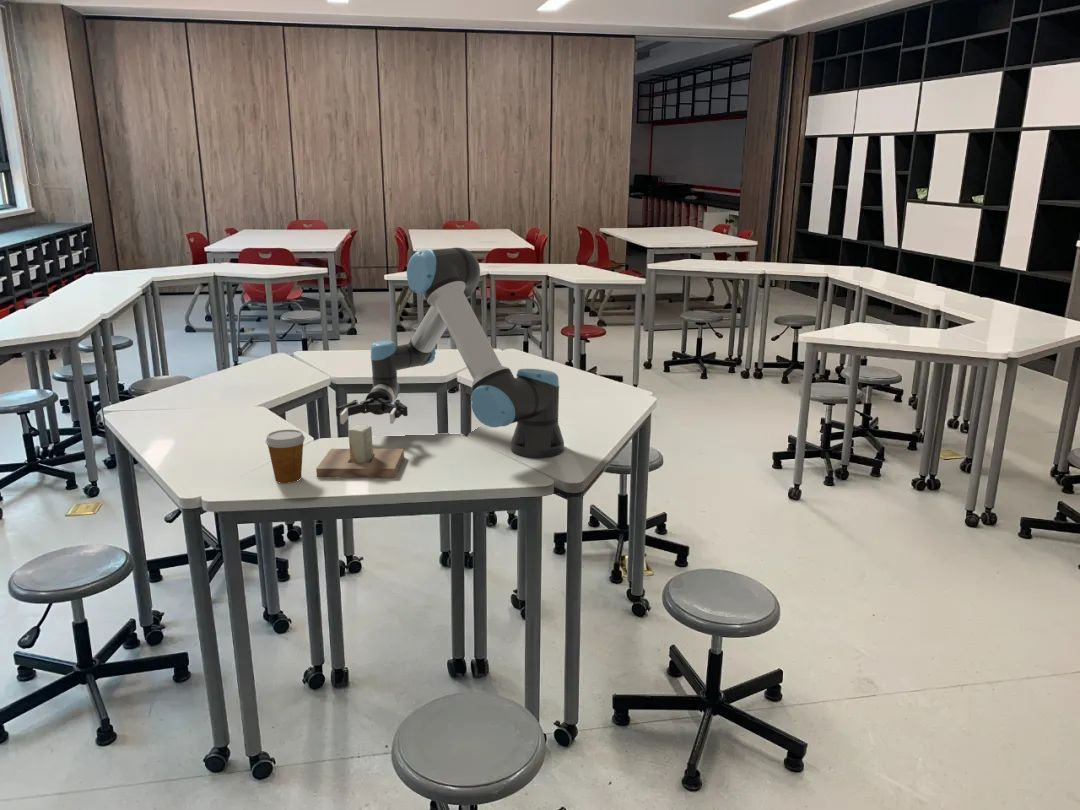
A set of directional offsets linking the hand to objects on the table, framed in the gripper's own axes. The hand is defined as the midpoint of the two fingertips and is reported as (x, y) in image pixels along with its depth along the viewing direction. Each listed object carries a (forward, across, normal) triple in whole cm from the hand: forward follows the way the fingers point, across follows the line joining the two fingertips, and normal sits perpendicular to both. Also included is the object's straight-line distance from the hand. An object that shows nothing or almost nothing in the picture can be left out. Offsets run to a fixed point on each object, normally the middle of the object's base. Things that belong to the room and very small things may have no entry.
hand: (366, 419), depth 223 cm
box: (+10, 0, -11) cm, 14 cm away
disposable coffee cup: (+19, +17, -11) cm, 27 cm away
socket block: (+10, 0, -10) cm, 14 cm away
